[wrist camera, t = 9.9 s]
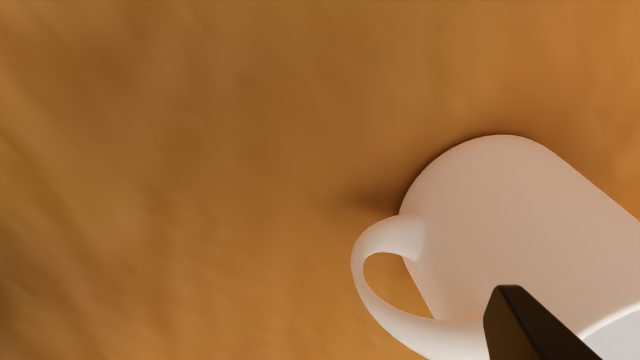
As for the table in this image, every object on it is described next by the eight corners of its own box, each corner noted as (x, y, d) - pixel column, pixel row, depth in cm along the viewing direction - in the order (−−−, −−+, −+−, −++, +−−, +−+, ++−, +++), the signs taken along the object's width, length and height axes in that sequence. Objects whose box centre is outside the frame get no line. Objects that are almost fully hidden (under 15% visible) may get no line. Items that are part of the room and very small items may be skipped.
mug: (342, 113, 22) (457, 296, 13) (584, 134, 25) (806, 289, 16) (306, 277, 26) (374, 500, 17) (518, 275, 29) (667, 461, 21)
